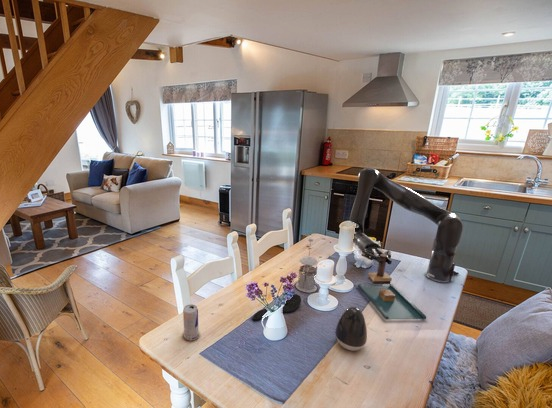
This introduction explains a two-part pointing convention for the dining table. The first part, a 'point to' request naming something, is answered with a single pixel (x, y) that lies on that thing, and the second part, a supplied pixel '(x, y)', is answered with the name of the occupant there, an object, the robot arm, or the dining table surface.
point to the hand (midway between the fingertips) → (386, 262)
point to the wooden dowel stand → (380, 273)
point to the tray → (392, 303)
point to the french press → (307, 274)
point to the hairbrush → (286, 309)
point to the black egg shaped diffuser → (351, 329)
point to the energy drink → (190, 322)
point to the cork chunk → (386, 295)
